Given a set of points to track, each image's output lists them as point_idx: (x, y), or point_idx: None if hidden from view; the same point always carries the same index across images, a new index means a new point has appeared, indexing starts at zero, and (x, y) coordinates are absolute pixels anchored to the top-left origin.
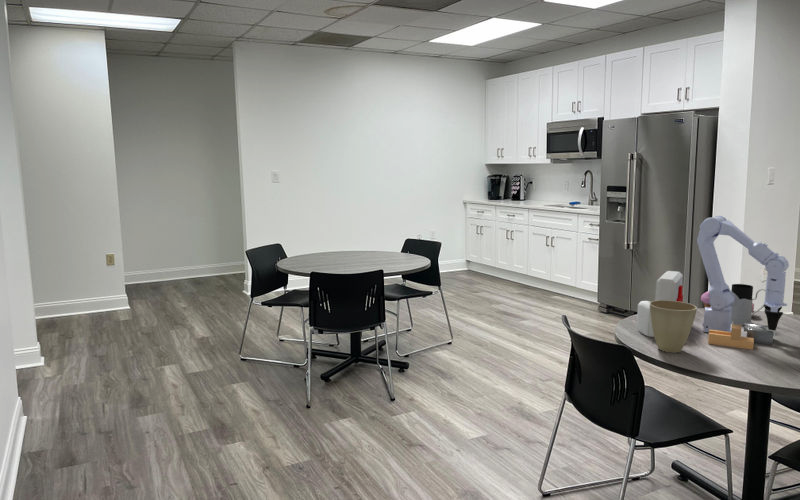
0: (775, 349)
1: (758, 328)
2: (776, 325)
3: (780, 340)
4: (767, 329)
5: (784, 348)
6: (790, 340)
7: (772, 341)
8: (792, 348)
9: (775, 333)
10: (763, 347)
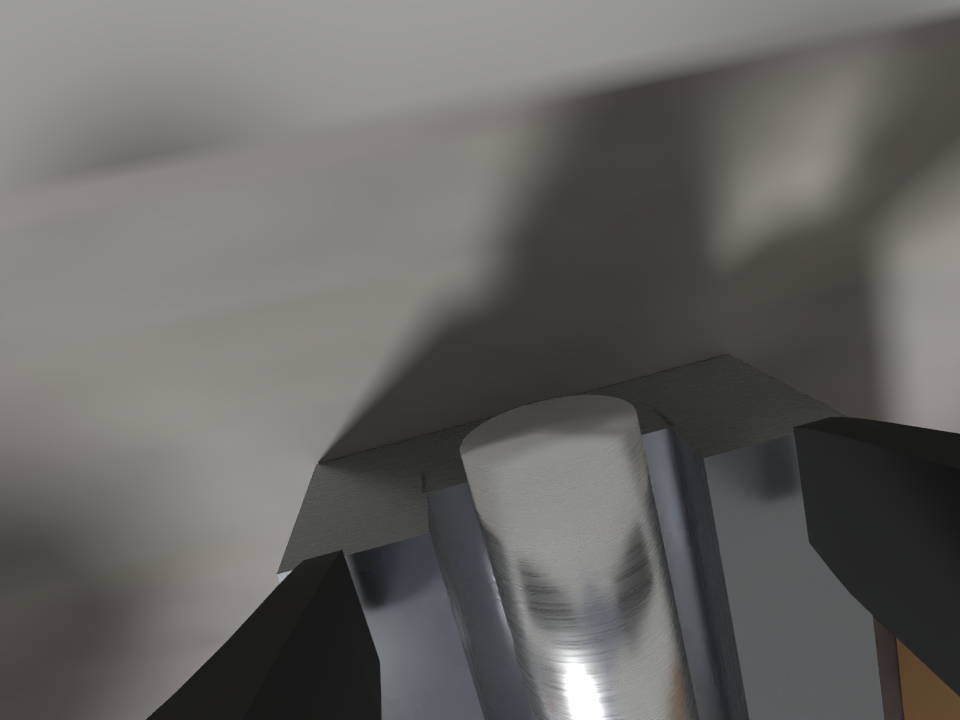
0: (946, 262)
1: (695, 701)
2: (948, 442)
3: (362, 326)
4: (663, 568)
5: (814, 170)
6: (234, 199)
7: (753, 371)
8: (738, 67)
9: (624, 407)
10: (933, 413)
